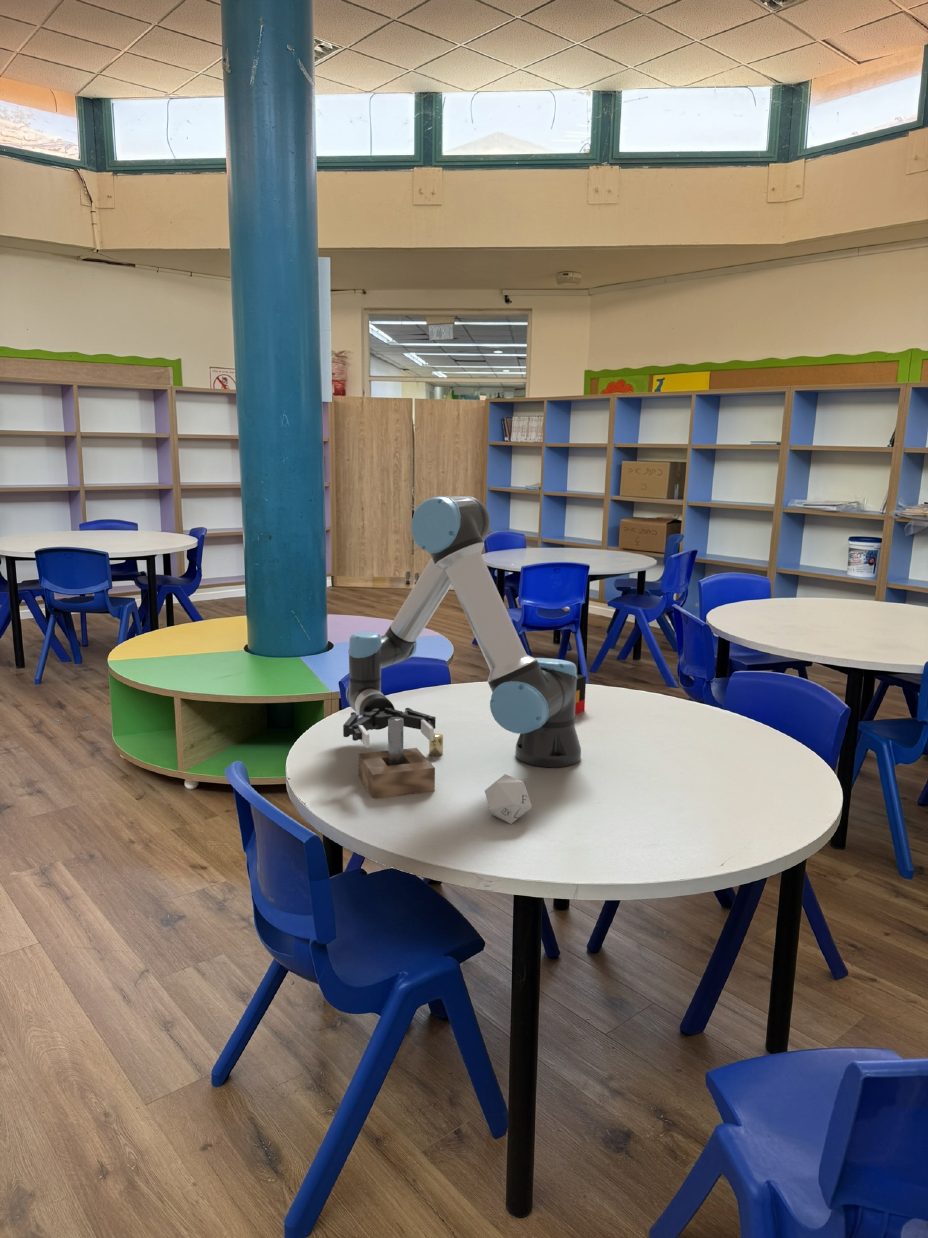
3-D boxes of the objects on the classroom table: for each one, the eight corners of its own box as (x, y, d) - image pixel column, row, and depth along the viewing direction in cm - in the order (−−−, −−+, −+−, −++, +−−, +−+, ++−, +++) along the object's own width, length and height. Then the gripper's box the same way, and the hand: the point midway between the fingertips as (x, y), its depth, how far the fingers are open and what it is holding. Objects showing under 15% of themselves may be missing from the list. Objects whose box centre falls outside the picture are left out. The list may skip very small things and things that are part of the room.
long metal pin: (406, 782, 173) (406, 718, 171) (396, 787, 170) (397, 722, 168) (394, 779, 175) (394, 716, 172) (384, 783, 172) (384, 719, 170)
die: (487, 831, 152) (518, 797, 149) (468, 795, 158) (498, 761, 154) (516, 835, 157) (548, 802, 154) (498, 800, 163) (527, 767, 160)
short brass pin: (445, 753, 192) (445, 734, 191) (437, 757, 189) (437, 738, 188) (434, 750, 193) (434, 732, 193) (426, 754, 191) (426, 735, 190)
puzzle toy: (566, 718, 221) (567, 682, 219) (534, 711, 227) (536, 676, 225) (584, 710, 228) (586, 675, 227) (553, 704, 234) (554, 670, 233)
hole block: (416, 769, 181) (416, 747, 180) (434, 791, 169) (434, 767, 168) (358, 775, 176) (358, 753, 176) (373, 798, 164) (373, 774, 164)
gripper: (426, 720, 192) (457, 749, 173) (320, 730, 184) (339, 761, 164) (427, 689, 191) (457, 715, 171) (320, 697, 182) (339, 725, 163)
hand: (400, 738), depth 168 cm, fingers open, 13 cm apart
